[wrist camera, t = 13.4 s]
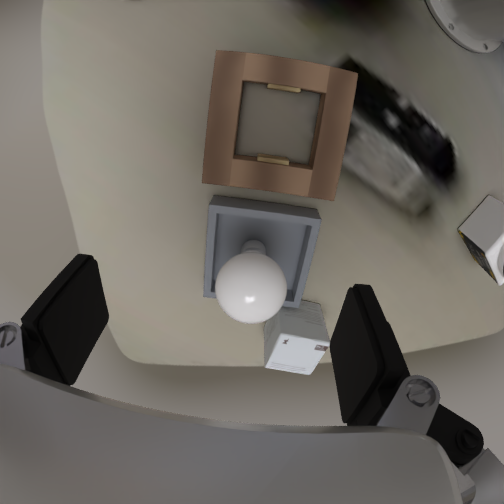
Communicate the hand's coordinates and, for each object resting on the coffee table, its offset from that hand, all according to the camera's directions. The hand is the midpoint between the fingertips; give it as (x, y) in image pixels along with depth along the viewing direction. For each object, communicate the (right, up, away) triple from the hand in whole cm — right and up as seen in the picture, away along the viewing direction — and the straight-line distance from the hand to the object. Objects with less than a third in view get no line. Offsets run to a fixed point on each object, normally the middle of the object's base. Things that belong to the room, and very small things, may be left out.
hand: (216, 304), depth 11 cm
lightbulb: (+1, +2, +23) cm, 23 cm away
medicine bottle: (+33, +5, +22) cm, 39 cm away
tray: (+2, +2, +24) cm, 24 cm away
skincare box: (+7, -7, +29) cm, 30 cm away
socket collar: (+4, +14, +17) cm, 23 cm away
